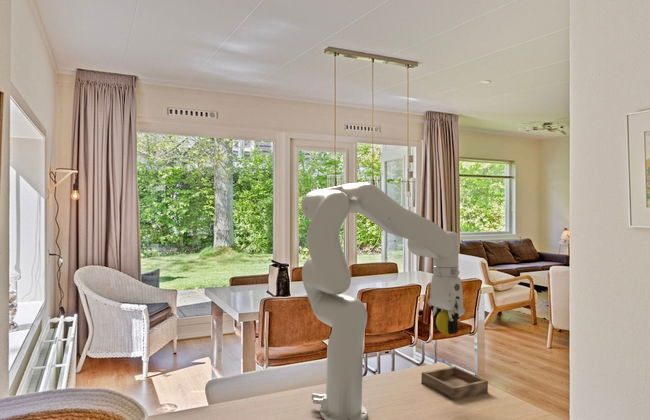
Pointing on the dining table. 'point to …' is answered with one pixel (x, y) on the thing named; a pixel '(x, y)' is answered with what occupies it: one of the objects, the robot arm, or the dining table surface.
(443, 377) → the bin
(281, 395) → the dining table surface
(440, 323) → the lemon
